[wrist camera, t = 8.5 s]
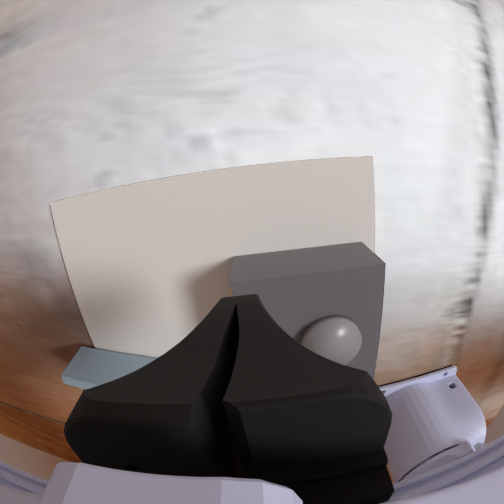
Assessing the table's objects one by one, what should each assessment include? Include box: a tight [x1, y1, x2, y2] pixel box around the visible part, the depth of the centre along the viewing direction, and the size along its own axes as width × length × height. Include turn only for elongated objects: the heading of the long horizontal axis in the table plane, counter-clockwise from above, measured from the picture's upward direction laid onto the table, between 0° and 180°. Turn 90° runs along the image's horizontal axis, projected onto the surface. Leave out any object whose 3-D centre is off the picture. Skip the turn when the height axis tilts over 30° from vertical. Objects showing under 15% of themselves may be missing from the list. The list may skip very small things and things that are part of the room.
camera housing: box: [230, 242, 385, 379], centre depth 19 cm, size 9×9×5 cm
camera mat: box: [50, 156, 375, 358], centre depth 21 cm, size 22×17×1 cm
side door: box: [61, 346, 157, 389], centre depth 20 cm, size 2×14×4 cm, turn 86°
